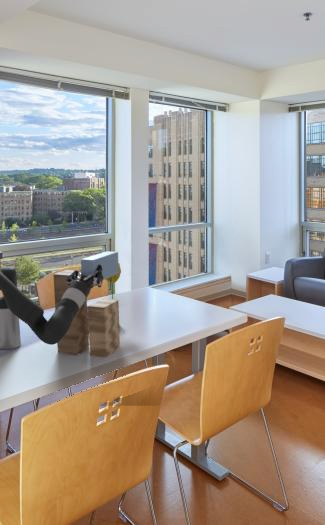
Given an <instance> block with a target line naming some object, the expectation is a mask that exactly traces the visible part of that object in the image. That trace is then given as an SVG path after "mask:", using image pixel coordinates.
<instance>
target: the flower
mask: <svg viewBox="0 0 325 525" xmlns="http://www.w3.org/2000/svg"><path fill="white" fill-rule="evenodd" d="M121 273H122V270H121V265H120V263H119V262H118V274H116V275H114V276H112V277H109V278H107V279H105V280H106V281H107V282H108V283H111V299H113V300H114V283H116V282H118V281H119V279H120V277H121Z"/></svg>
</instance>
